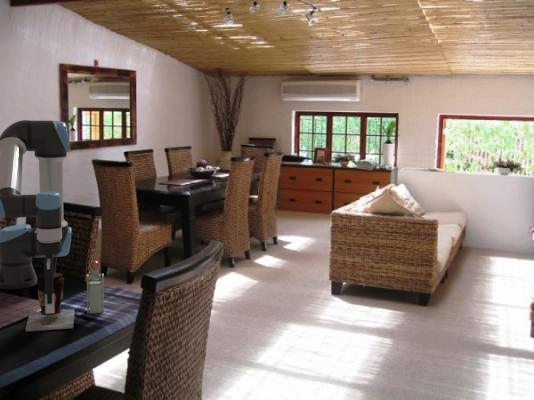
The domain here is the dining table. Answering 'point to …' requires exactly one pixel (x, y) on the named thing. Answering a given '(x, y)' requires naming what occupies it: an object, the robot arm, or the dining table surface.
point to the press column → (95, 296)
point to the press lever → (95, 271)
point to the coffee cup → (57, 293)
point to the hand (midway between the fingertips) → (50, 308)
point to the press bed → (50, 321)
